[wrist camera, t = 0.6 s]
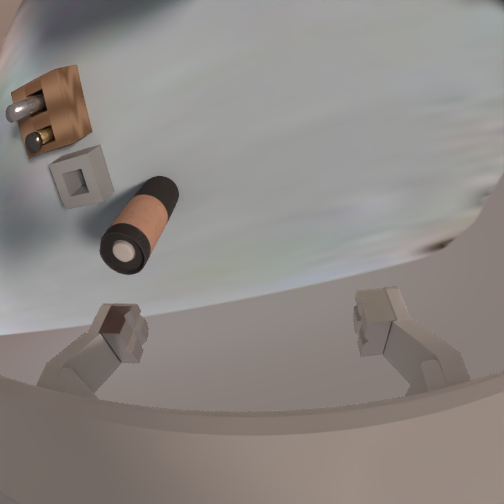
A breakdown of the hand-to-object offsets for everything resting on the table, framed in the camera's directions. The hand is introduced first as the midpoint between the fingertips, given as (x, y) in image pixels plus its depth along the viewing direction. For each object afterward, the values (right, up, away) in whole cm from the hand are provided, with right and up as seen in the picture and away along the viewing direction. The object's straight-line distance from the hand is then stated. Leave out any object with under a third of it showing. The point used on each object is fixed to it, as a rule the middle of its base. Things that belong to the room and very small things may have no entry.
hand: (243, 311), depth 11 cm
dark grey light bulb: (-36, +25, +36) cm, 57 cm away
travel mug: (-17, +13, +47) cm, 52 cm away
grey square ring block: (-33, +18, +44) cm, 58 cm away
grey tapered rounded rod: (-37, +32, +34) cm, 60 cm away
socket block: (-37, +30, +36) cm, 59 cm away
